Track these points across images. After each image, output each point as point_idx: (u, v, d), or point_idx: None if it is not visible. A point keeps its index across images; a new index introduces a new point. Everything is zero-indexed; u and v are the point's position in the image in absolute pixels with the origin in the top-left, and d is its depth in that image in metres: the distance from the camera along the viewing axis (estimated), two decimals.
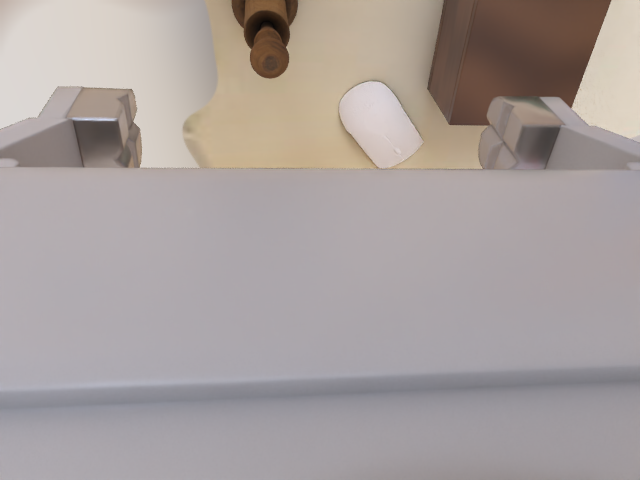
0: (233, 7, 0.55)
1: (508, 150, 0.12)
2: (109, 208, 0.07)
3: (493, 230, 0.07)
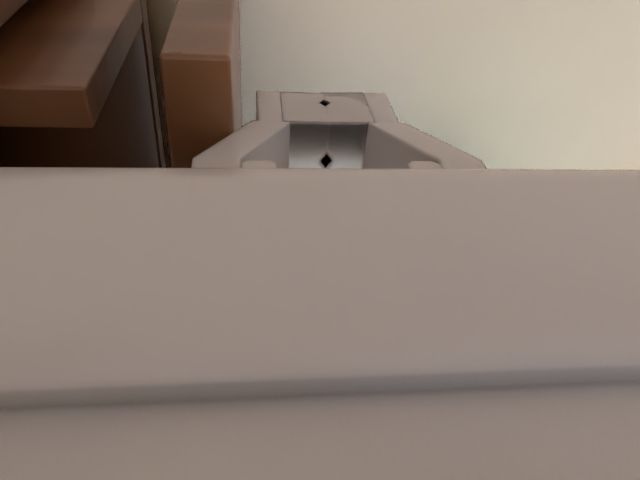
0: None
1: None
2: (109, 208, 0.07)
3: (493, 230, 0.07)
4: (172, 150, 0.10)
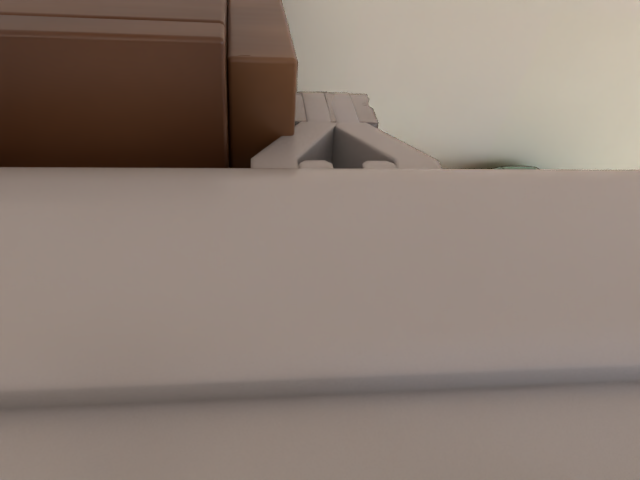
0: None
1: None
2: (109, 208, 0.07)
3: (492, 230, 0.07)
4: (233, 153, 0.10)
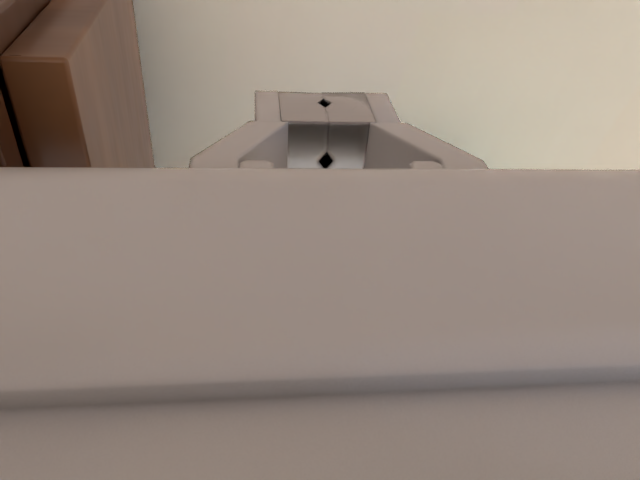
0: None
1: None
2: (109, 208, 0.07)
3: (492, 230, 0.07)
4: (25, 147, 0.11)
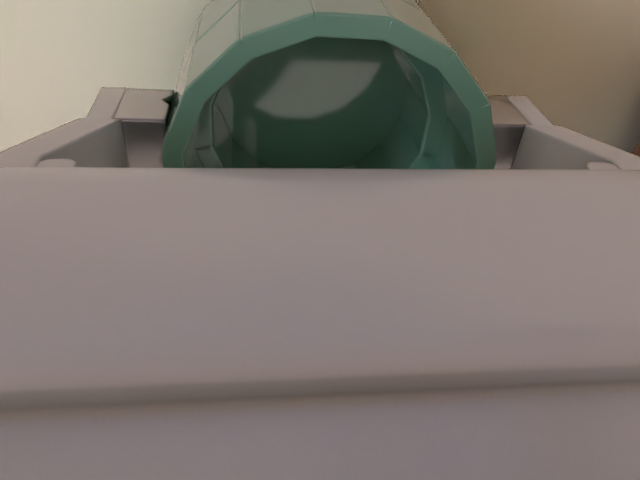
0: None
1: None
2: (109, 208, 0.07)
3: (493, 230, 0.07)
4: None
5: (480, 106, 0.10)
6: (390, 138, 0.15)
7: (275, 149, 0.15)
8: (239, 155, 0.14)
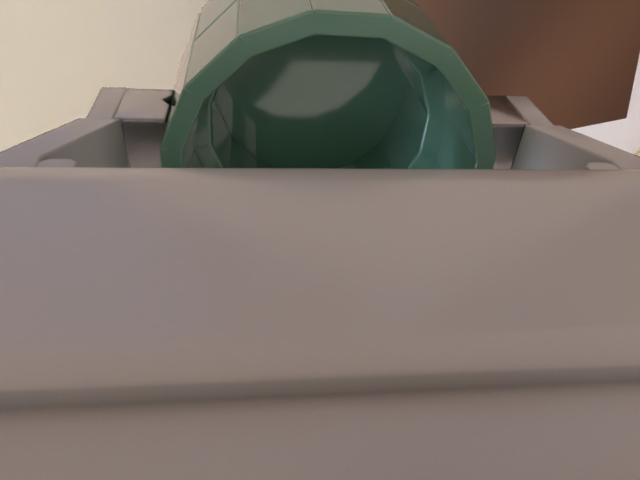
0: None
1: None
2: (109, 208, 0.07)
3: (493, 230, 0.07)
4: None
5: (479, 104, 0.10)
6: (390, 137, 0.15)
7: (274, 148, 0.15)
8: (238, 154, 0.14)
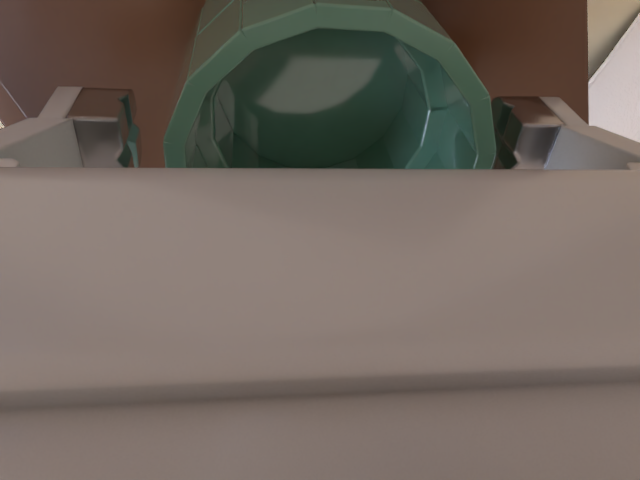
0: None
1: (508, 150, 0.12)
2: (109, 208, 0.07)
3: (492, 230, 0.07)
4: None
5: (480, 98, 0.10)
6: (390, 132, 0.15)
7: (276, 143, 0.15)
8: (240, 149, 0.14)
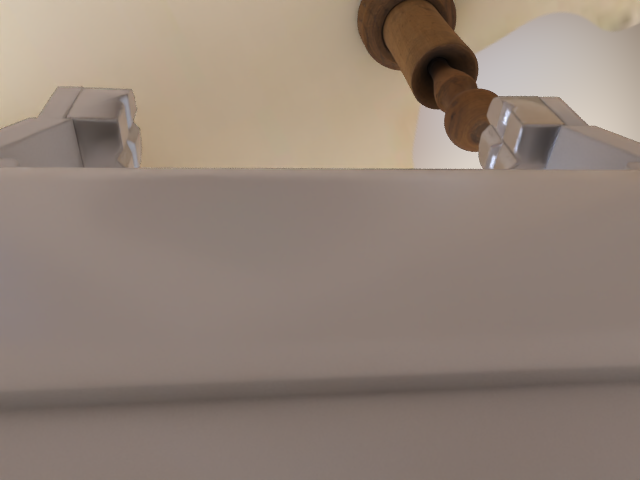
0: None
1: (508, 149, 0.12)
2: (109, 208, 0.07)
3: (492, 229, 0.07)
4: None
5: None
6: None
7: None
8: None
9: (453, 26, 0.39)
